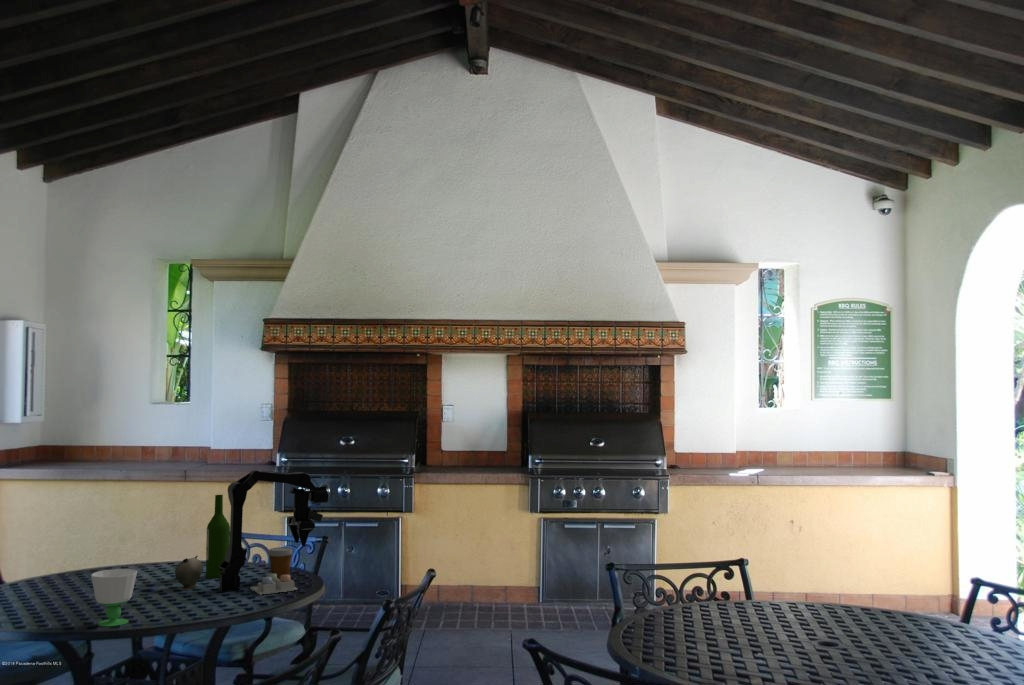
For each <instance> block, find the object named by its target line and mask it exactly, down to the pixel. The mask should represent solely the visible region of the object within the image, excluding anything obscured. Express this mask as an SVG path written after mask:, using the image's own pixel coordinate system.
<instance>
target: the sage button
mask: <svg viewBox="0 0 1024 685" xmlns="http://www.w3.org/2000/svg"><path fill="white" fill-rule="evenodd" d="M266 577H272V581H275V580H277V574H276V573H271V572H270V573H267V574H266Z"/></svg>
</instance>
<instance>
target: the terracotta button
mask: <svg viewBox="0 0 1024 685" xmlns="http://www.w3.org/2000/svg"><path fill="white" fill-rule="evenodd" d="M290 579H291V574H289V575H281V578H280V582H290Z"/></svg>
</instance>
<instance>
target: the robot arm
mask: <svg viewBox="0 0 1024 685" xmlns="http://www.w3.org/2000/svg"><path fill="white" fill-rule="evenodd" d="M258 482H269V483H280V484H288V485H292V488H291V489H290V490H288V493H289V494H293V506H292V507H291V508H292V510H293V513H292V514H293V515H289V516H288V517H287V518H286V524H287V526H288V528H289V530H290V533H291V536H292V537H293V540H294V542H295V544H298V543H301V547H305V546H307V545H306V544H307V541H308V538H309V536H310V535H309V534H310V533H311V532H312V531H313V530H314V529H315V528H316V523H315V522H317V523H320V524H321V522H322V520H323V517H324V514H323V513H319V512H318V510H317V509H314V508H312V509H311V507H310V505H309V502H310V503H311V504H313V505H314V504H327V503H328V501H329V493H328V490H327V489H328V488H327V485H321V486H315V485H314V483H313V482H312V479H311V476H310V474H308V473H307V472H301V471H295V472H287V473H286V472H285V473H284V472H283V473H282V472H272V471H271V472H270V471H262V470H261V471H260V470H257V469H253V470H251V471H250V472H249V473H247V474H246V475H244V476H242V477H241V478H239V479H238V480H237V481H233V482H231V483H230V484H229V485H228V486H227V496H228V500H229V505H230V519H229V520H230V522H229V526H230V543H229V547H228V549H227V552H226V557H225V560H224V561H223V562H222V564H221V565H220V566H219V569H220V571H221V572H222V573H220V578H219V587H217V589H218V590H220V591H221V592H224V593H225V592H229V591H231V590H232V591H238V590H237V589H240V590H241V576H240V575H239V574H240V571H241V568H243V566H245V562H246V561H247V553H248V552H247V551H248V550H247V549H246V548H244V547H243V545H242V544H243V542H242V535H243V515H244V514H243V511H244V509H243V508H244V505H245V502H246V500H247V493H248V491H250V490H251V489H252V488H253V487H254V486H255V485H256V483H258ZM296 487H298V488H296ZM305 489H306V490H305ZM314 521H315V522H314ZM232 591H231V592H232Z"/></svg>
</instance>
